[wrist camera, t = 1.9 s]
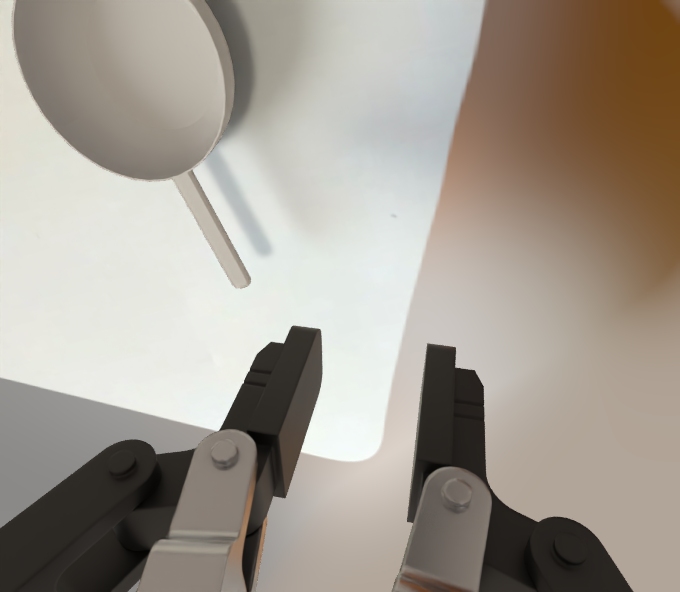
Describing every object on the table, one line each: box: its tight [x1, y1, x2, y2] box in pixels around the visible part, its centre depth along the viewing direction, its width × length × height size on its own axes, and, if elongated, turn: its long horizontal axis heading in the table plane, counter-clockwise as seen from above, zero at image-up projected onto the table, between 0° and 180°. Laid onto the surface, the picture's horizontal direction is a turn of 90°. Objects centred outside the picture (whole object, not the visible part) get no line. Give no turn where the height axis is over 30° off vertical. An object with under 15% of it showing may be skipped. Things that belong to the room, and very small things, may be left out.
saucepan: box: [12, 0, 251, 289], centre depth 28 cm, size 11×18×4 cm, turn 24°
